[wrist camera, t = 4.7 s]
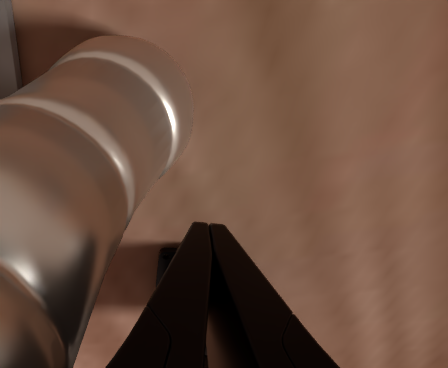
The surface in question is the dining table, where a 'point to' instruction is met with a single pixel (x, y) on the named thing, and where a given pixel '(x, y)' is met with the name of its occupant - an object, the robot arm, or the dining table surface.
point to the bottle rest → (8, 52)
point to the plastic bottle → (79, 184)
